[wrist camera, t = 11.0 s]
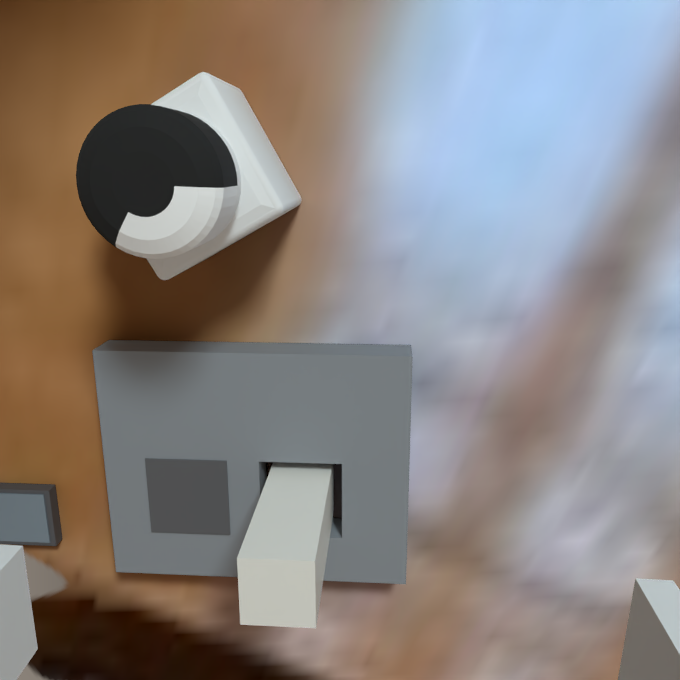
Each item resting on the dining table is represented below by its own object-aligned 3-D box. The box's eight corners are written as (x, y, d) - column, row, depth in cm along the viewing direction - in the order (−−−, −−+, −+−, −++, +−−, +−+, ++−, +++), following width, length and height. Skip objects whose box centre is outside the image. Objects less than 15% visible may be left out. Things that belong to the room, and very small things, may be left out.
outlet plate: (108, 340, 43) (91, 351, 41) (410, 345, 42) (412, 356, 39) (129, 551, 47) (115, 572, 45) (404, 562, 46) (405, 585, 44)
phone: (-52, 481, 47) (-61, 487, 46) (55, 484, 46) (48, 491, 45) (-43, 534, 48) (-52, 542, 47) (62, 538, 48) (55, 546, 47)
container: (133, 152, 40) (18, 148, 27) (239, 85, 38) (168, 49, 26) (200, 262, 41) (119, 305, 29) (304, 202, 40) (267, 220, 27)
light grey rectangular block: (275, 455, 45) (236, 558, 33) (333, 457, 44) (315, 561, 33) (277, 507, 46) (240, 624, 34) (333, 509, 45) (315, 628, 34)
